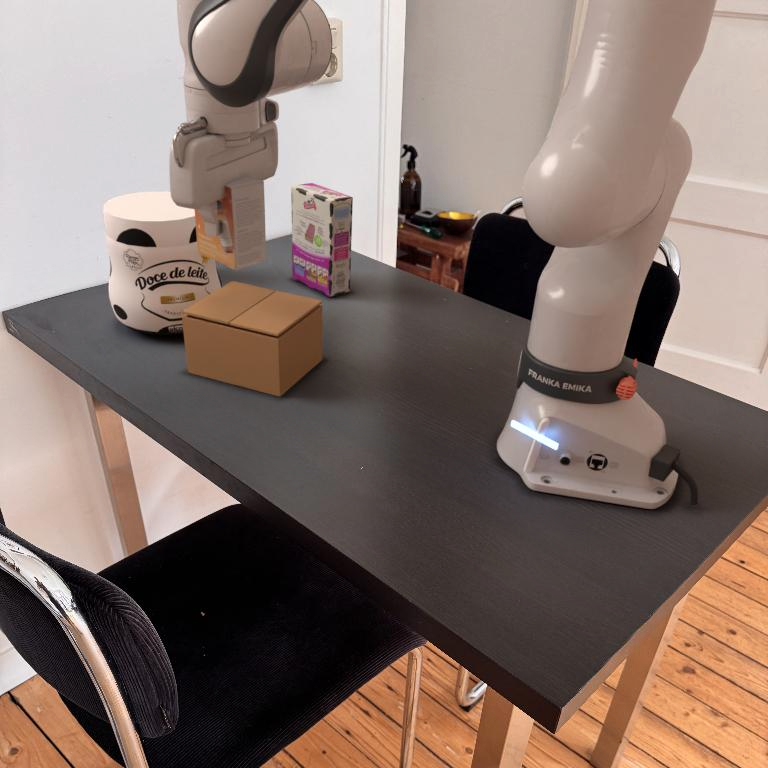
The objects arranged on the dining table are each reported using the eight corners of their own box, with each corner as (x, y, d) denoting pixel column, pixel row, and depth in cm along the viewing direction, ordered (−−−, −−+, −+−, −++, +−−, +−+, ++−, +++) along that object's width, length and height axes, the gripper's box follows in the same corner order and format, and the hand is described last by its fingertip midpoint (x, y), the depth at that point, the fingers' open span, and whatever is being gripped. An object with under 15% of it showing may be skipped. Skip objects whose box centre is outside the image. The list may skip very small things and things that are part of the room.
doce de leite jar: (177, 354, 117) (163, 232, 106) (89, 326, 123) (68, 208, 112) (246, 315, 129) (240, 203, 118) (164, 292, 135) (151, 182, 124)
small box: (197, 255, 107) (189, 173, 101) (229, 246, 110) (223, 166, 104) (235, 270, 103) (230, 187, 97) (267, 261, 106) (264, 179, 100)
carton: (322, 359, 118) (322, 300, 112) (280, 397, 108) (278, 333, 103) (235, 338, 122) (232, 280, 117) (187, 372, 112) (181, 310, 107)
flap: (322, 303, 113) (322, 300, 112) (277, 336, 103) (277, 333, 103) (276, 293, 115) (276, 290, 114) (229, 325, 105) (229, 322, 105)
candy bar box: (352, 292, 140) (354, 196, 130) (330, 298, 137) (331, 201, 127) (312, 273, 146) (312, 180, 136) (291, 279, 143) (289, 185, 133)
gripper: (196, 129, 87) (207, 253, 96) (285, 102, 103) (288, 211, 111) (149, 122, 89) (163, 244, 97) (243, 96, 104) (249, 204, 113)
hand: (230, 226), depth 104 cm, fingers closed on small box, 6 cm apart
